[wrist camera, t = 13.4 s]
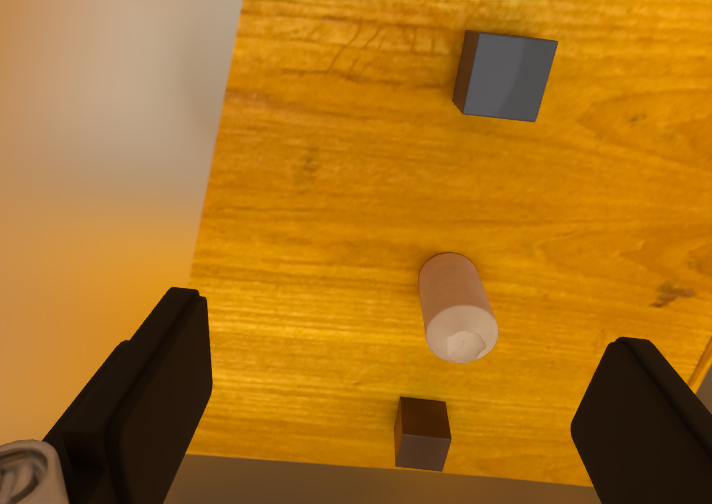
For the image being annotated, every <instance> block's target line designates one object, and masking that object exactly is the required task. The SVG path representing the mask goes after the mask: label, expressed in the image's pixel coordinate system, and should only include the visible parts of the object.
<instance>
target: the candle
mask: <svg viewBox="0 0 712 504" xmlns="http://www.w3.org/2000/svg"><path fill="white" fill-rule="evenodd" d="M419 291H420V298H421V306H422V313H423V320H424V328H425V335H426V341H427V344H428V346H429V348H430V350H431V351H432V352H433V353H434V354H435V355H437V356H438V357H440V358H442V359H444V360H447V361H450V362H457V363H465V362H471V361H474V360H476V359H479V358H481V357H482V356H484V355H486V354H487V353H488V352H489V351H490V350H491V349H492V348H493V347H494V345H495V343H496V341H497V339H498V326H497V323H496V320H495V317H494V315H493V312H492V309H491V307H490V304H489V301H488V299H487V296H486V293H485V291H484V288H483V285H482V283H481V280H480V277H479V275H478V272H477V270H476V268H475V266H474V265H473V263H472V262H471V261H470V260H469V259H467V258H466V257H464V256H462V255H460V254H455V253H444V254H440V255H437V256H435V257H433V258H431V259H430V260H428V261H427V262H426V263H425V264H424V266H423V267H422V269H421V271H420V274H419Z"/></svg>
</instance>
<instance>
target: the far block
mask: <svg viewBox="0 0 712 504" xmlns="http://www.w3.org/2000/svg"><path fill="white" fill-rule="evenodd" d="M394 437H395V466H396V467H405V468H414V469H423V470H432V471H441V472H442V471H443V467H444V464H445V460H446V457H447V453H448V450H449V447H450V443H451V440H452V439H451V433H450V427H449V421H448V415H447V409H446V403H445V402H440V401H431V400H422V399H413V398H404V397H400V402H399V407H398V412H397V417H396V422H395V427H394Z"/></svg>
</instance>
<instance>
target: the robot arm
mask: <svg viewBox="0 0 712 504" xmlns="http://www.w3.org/2000/svg"><path fill="white" fill-rule="evenodd" d="M212 385H213V381H212V367H211V353H210V338H209V324H208V309H207V300H206V297H202V296H200V295H199V292H198V290H196V289H187V288H178V287H172V288H170V289H169V290H168V291H167V292H166V294H165V295H164V296H163V298H162V299H161V300H160V301H159V303H158V304H157V305H156V307H155V308H154V309H153V310H152V312H151V313H150V315H149V316H148V317H147V318H146V320H145V321H144V322H143V324H142V325H141V326H140V327H139V329H138V330H137V331H136V333H135V334H134V335H133V337H132V338H131V339H130V340H125V341H123V342H121V343H120V344H119V345H118V346H117V347H116V348H115V349H114V351H113V352H112V353H111V354H110V356H109V357H108V358H107V359H106V361H105V362H104V363H103V364H102V366H101V367H100V368H99V369H98V371H97V372H96V373H95V374H94V376H93V377H92V378H91V380H90V381H89V382H88V383H87V384H86V386H85V387H84V388H83V390H82V391H81V392H80V393H79V395H78V396H77V397H76V398H75V400H74V401H73V402H72V404H71V405H70V406H69V407H68V409H67V410H66V411H65V412H64V414H63V415H62V416H61V417H60V419H59V420H58V421H57V422H56V424H55V425H54V426H53V427H52V429H51V430H50V431H49V432H48V434H47V435H46V436H45V437H44V439H43V440H42V441H38V440H33V439H32V440H19V441H14V442H11V443H7V444H4V445H1V446H0V504H163V502H164V500H165V498H166V495H167V493H168V491H169V489H170V487H171V484H172V482H173V480H174V477H175V475H176V473H177V471H178V468H179V466H180V464H181V462H182V460H183V457H184V455H185V453H186V451H187V448H188V446H189V444H190V442H191V439H192V437H193V435H194V433H195V430H196V428H197V426H198V424H199V421H200V419H201V417H202V415H203V412H204V410H205V408H206V405H207V403H208V401H209V399H210V396H211V392H212ZM571 436H572V439H573V441H574V444H575V446H576V448H577V450H578V452H579V455H580V457H581V459H582V461H583V463H584V466H585V468H586V470H587V472H588V474H589V477H590V479H591V481H592V483H593V486H594V488H595V490H596V492H597V494H598V497H599V499H600V501H601V503H602V504H712V414H711V413H710V412H709V411H708V410H707V409H706V407H705V406H704V405H703V404H702V402H701V401H700V400H699V399H698V398H697V397H696V395H695V394H694V393H693V392H692V390H691V389H690V388H689V387H688V385H687V384H686V383H685V382H684V381H683V379H682V378H681V377H680V376H679V375H678V373H677V372H676V371H675V370H674V369H673V367H672V366H671V365H670V364H669V363H668V361H667V360H666V359H665V358H664V356H663V355H662V354H661V353H660V352H659V350H658V349H657V348H656V347H655V346H654V344H653V343H652V342H650V341H649V340H646V339H639V338H629V337H619V338H618V339H616V341H615V342H611V343H610V344H609V345H608V346H607V348H606V350H605V352H604V354H603V356H602V358H601V361H600V363H599V365H598V367H597V369H596V371H595V373H594V375H593V378H592V380H591V382H590V384H589V386H588V388H587V390H586V392H585V395H584V397H583V399H582V401H581V403H580V405H579V407H578V409H577V412H576V414H575V416H574V418H573V420H572V423H571Z"/></svg>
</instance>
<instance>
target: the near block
mask: <svg viewBox="0 0 712 504" xmlns="http://www.w3.org/2000/svg"><path fill="white" fill-rule="evenodd" d="M557 44H558V41H554V40H547V39H540V38H532V37H524V36H515V35H506V34H497V33H488V32H479V31H471V30H466V33H465V38H464V43H463V48H462V53H461V58H460V64H459V69H458V74H457V79H456V84H455V89H454V95H453V100H452V101H453V103H454V104H455V105H456V106H457V108H458V109H459V110H460V111H461V112H462V114H466V115H475V116H484V117H493V118H502V119H510V120H519V121H528V122H535V121H536V118H537V115H538V111H539V108H540V104H541V101H542V97H543V94H544V90H545V87H546V83H547V79H548V76H549V72H550V69H551V65H552V62H553V58H554V55H555V51H556V48H557Z"/></svg>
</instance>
